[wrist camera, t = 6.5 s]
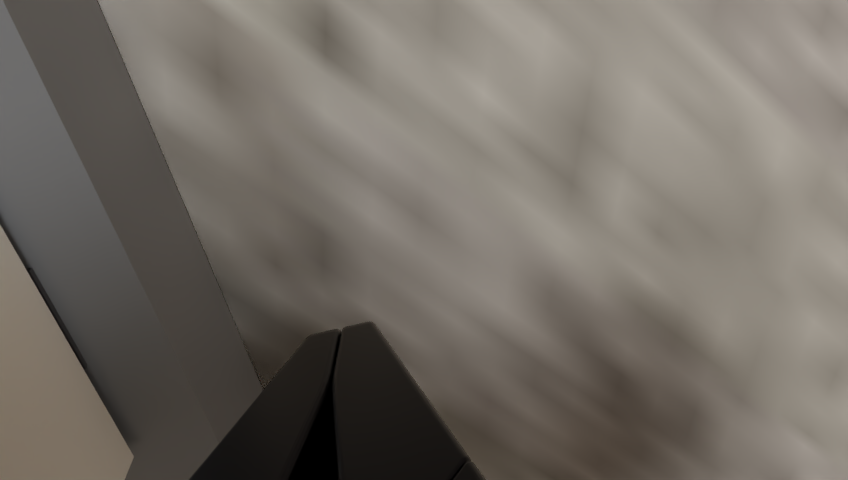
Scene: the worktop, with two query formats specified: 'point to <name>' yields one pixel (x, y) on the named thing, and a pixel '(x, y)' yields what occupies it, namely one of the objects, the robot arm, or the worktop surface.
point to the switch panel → (113, 240)
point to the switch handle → (47, 393)
